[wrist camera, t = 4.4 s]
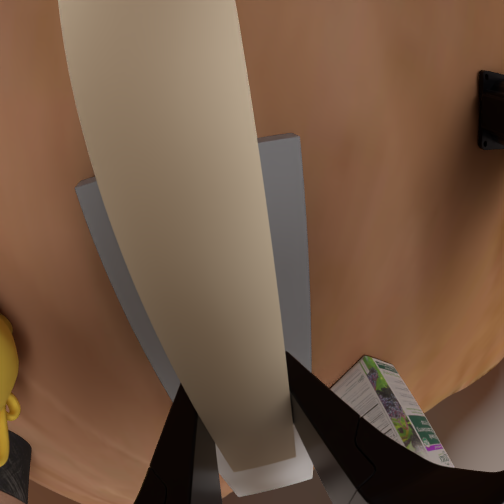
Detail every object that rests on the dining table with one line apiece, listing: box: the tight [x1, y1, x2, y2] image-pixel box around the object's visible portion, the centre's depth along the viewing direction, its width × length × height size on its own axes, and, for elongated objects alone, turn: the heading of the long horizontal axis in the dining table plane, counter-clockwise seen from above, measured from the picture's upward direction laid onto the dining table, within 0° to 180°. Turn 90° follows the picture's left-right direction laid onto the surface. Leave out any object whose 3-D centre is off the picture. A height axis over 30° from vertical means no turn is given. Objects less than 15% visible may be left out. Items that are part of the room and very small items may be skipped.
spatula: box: [58, 0, 313, 497], centre depth 10 cm, size 5×24×3 cm, turn 9°
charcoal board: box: [75, 133, 311, 402], centre depth 23 cm, size 12×28×1 cm, turn 8°
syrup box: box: [330, 356, 455, 468], centre depth 25 cm, size 6×6×14 cm
